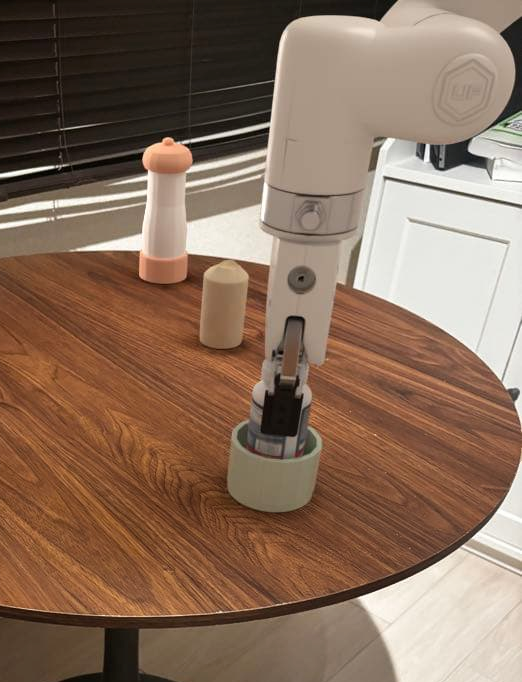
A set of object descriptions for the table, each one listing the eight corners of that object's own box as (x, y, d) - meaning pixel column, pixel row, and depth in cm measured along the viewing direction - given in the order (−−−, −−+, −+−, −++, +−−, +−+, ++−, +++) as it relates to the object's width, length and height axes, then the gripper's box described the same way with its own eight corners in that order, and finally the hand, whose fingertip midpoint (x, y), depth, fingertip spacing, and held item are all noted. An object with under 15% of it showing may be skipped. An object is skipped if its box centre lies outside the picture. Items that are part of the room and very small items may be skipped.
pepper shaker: (143, 265, 127) (146, 131, 115) (189, 269, 126) (197, 133, 114) (135, 282, 121) (137, 142, 109) (183, 285, 120) (191, 145, 108)
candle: (209, 328, 108) (215, 253, 101) (248, 337, 106) (256, 260, 99) (192, 344, 104) (197, 266, 98) (232, 352, 102) (240, 274, 96)
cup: (313, 469, 80) (322, 421, 77) (312, 517, 74) (322, 466, 71) (230, 460, 82) (235, 412, 78) (222, 506, 75) (228, 456, 72)
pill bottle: (284, 433, 78) (297, 347, 73) (313, 460, 74) (329, 371, 69) (235, 443, 77) (245, 356, 71) (262, 471, 73) (274, 381, 67)
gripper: (364, 247, 55) (321, 472, 66) (357, 182, 68) (322, 379, 79) (253, 239, 56) (229, 462, 67) (267, 177, 69) (245, 372, 80)
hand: (280, 415), depth 73 cm, fingers closed on pill bottle, 5 cm apart
